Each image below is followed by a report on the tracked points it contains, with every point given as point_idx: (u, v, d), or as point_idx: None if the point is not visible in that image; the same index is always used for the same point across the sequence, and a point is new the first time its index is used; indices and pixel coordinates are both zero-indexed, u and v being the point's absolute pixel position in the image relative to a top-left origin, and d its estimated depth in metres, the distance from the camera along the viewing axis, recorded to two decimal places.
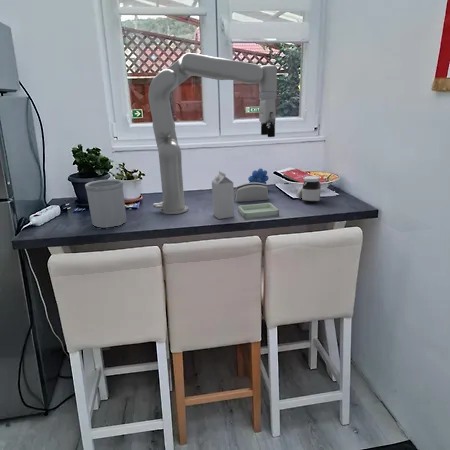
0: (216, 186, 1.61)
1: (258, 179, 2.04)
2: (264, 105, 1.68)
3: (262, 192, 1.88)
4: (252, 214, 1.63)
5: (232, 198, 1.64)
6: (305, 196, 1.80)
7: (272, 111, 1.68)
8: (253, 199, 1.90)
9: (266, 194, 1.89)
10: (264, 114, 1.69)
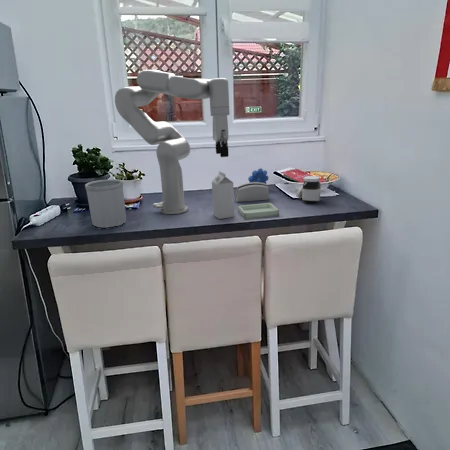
0: (216, 186, 1.61)
1: (258, 179, 2.04)
2: (215, 122, 1.52)
3: (263, 192, 1.88)
4: (252, 214, 1.63)
5: (232, 198, 1.64)
6: (305, 196, 1.80)
7: (224, 129, 1.52)
8: (254, 199, 1.90)
9: (267, 194, 1.89)
10: (215, 132, 1.53)
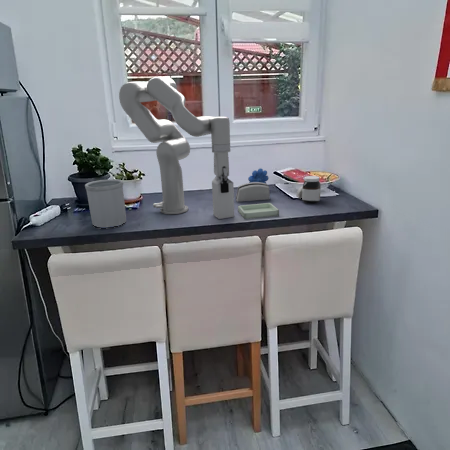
0: (216, 186, 1.61)
1: (258, 179, 2.04)
2: (216, 159, 1.57)
3: (263, 192, 1.88)
4: (252, 214, 1.63)
5: (232, 198, 1.63)
6: (305, 196, 1.80)
7: (225, 166, 1.57)
8: (254, 199, 1.90)
9: (267, 194, 1.89)
10: (217, 168, 1.58)
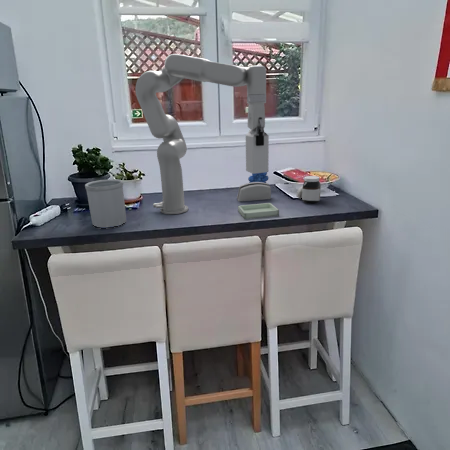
0: (251, 139, 1.56)
1: (258, 179, 2.04)
2: (252, 110, 1.52)
3: (265, 191, 1.89)
4: (252, 214, 1.63)
5: (267, 152, 1.59)
6: (305, 196, 1.80)
7: (261, 117, 1.52)
8: (256, 199, 1.90)
9: (269, 193, 1.90)
10: (252, 120, 1.53)
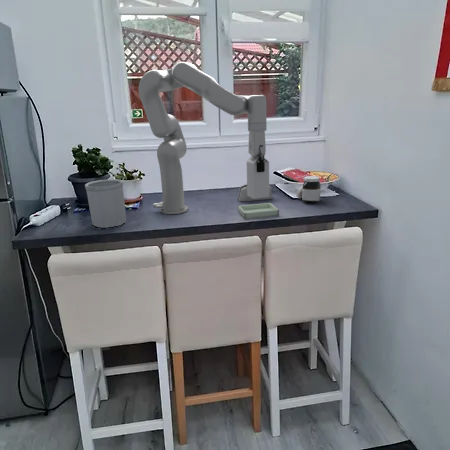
0: (252, 165, 1.60)
1: None
2: (253, 138, 1.56)
3: None
4: (252, 214, 1.63)
5: (267, 178, 1.63)
6: (305, 196, 1.80)
7: (262, 145, 1.56)
8: None
9: (269, 193, 1.90)
10: (253, 147, 1.57)
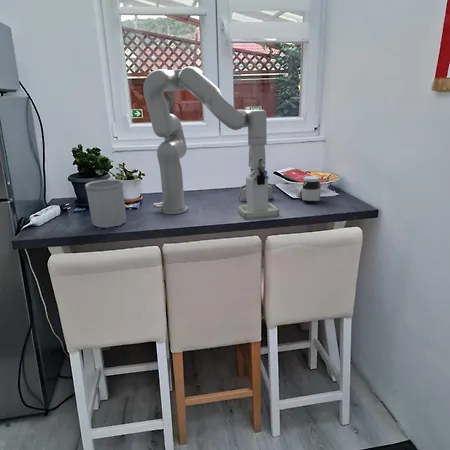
0: (250, 182, 1.62)
1: None
2: (253, 152, 1.58)
3: None
4: (252, 214, 1.63)
5: (266, 194, 1.65)
6: (305, 196, 1.80)
7: (262, 158, 1.58)
8: None
9: (270, 193, 1.90)
10: (253, 161, 1.59)
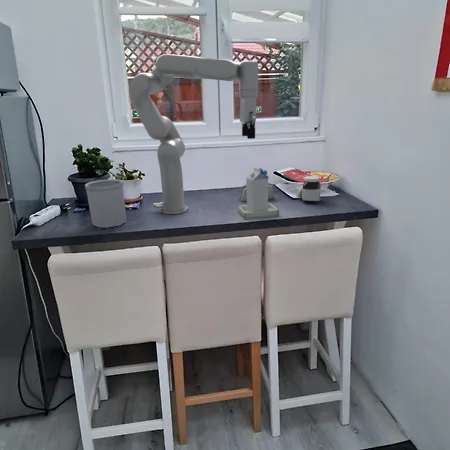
0: (251, 182, 1.62)
1: None
2: (244, 104, 1.56)
3: None
4: (252, 214, 1.63)
5: (266, 194, 1.65)
6: (305, 196, 1.80)
7: (252, 111, 1.55)
8: None
9: (271, 193, 1.91)
10: (244, 114, 1.57)
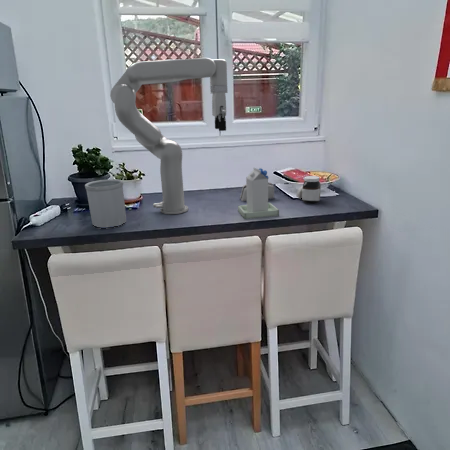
0: (251, 182, 1.62)
1: None
2: (214, 99, 1.70)
3: (268, 191, 1.90)
4: (252, 214, 1.63)
5: (266, 194, 1.65)
6: (305, 196, 1.80)
7: (222, 105, 1.69)
8: None
9: (272, 193, 1.91)
10: (215, 108, 1.70)
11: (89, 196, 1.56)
